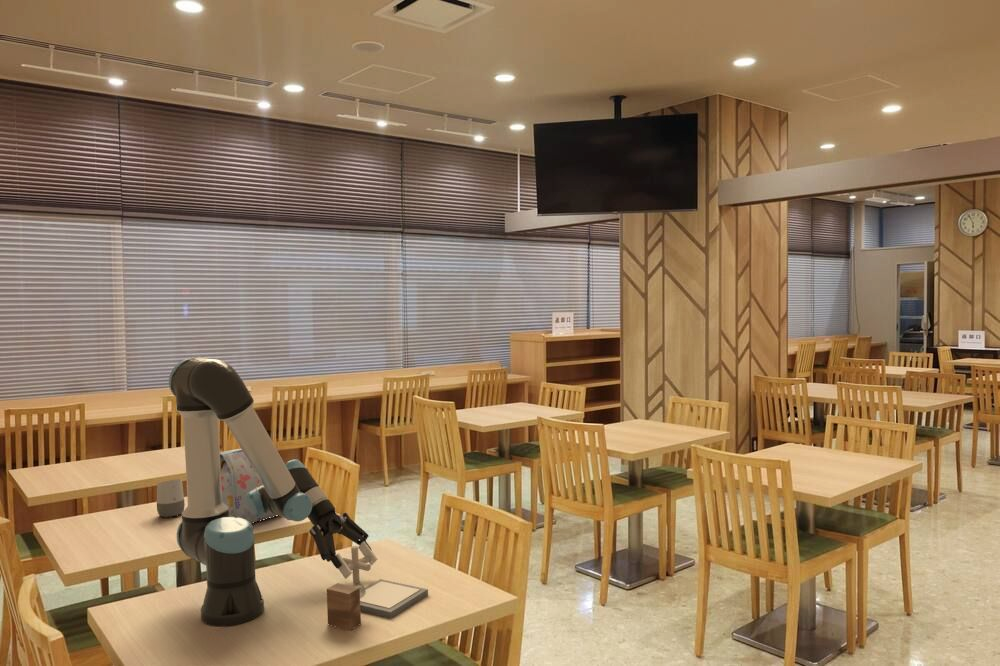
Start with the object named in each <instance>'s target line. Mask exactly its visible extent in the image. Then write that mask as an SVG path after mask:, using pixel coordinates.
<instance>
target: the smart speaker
mask: <svg viewBox="0 0 1000 666" xmlns="http://www.w3.org/2000/svg"><path fill="white" fill-rule="evenodd" d="M185 505H186V504H185V494H184V487H183V479H182V478H177V479H171V480H165V481H161V482H158V483H157V486H156V511H157V514H158V516H159V517H161V518H164V517H171V518H173V517H172V516H176V517H178V516H177V515H179V516H180V514H181V515H182V512H183V511H184V510H185Z"/></svg>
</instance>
